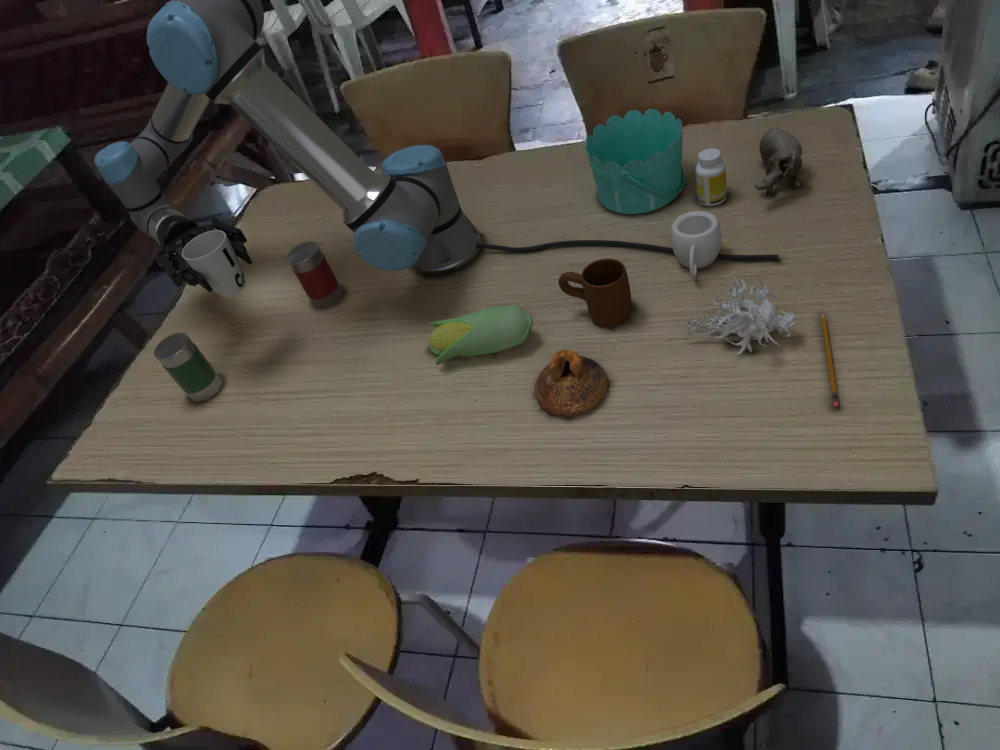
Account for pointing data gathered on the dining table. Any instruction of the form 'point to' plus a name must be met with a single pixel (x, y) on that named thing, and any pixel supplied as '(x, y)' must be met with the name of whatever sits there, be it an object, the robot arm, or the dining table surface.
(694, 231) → the mug
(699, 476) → the dining table surface
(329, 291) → the maroon can
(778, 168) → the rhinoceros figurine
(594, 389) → the bell
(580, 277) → the mug
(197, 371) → the green can
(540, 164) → the dining table surface
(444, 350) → the corn
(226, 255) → the cup
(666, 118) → the bucket
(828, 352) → the pencil
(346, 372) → the dining table surface
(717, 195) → the supplement bottle
